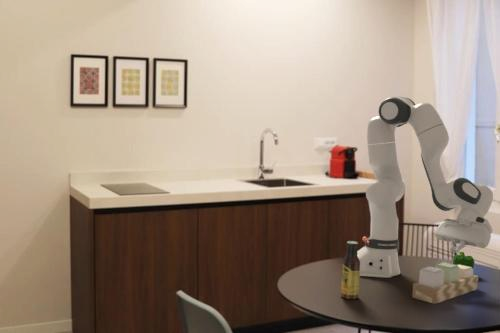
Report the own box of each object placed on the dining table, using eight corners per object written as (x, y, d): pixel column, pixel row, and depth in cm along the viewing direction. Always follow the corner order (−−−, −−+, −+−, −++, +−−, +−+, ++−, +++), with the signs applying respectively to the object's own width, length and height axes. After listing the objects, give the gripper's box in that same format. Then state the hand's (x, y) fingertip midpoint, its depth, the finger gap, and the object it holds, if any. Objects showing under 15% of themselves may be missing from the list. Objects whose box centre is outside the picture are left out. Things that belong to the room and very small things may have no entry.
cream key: (457, 282, 235) (458, 264, 234) (472, 285, 230) (473, 267, 229) (449, 284, 231) (450, 266, 230) (463, 288, 226) (464, 269, 225)
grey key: (428, 285, 221) (429, 266, 220) (443, 289, 217) (444, 269, 216) (418, 288, 217) (419, 268, 217) (433, 292, 213) (434, 272, 212)
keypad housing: (455, 283, 237) (456, 271, 236) (477, 289, 230) (478, 276, 230) (412, 297, 218) (413, 283, 217) (434, 304, 211) (435, 289, 210)
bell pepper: (464, 271, 255) (465, 248, 254) (477, 277, 247) (479, 252, 246) (447, 273, 252) (448, 249, 251) (460, 278, 244) (461, 253, 243)
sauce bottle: (338, 294, 219) (340, 239, 218) (356, 294, 220) (358, 239, 218) (343, 300, 213) (345, 243, 211) (360, 300, 213) (363, 243, 212)
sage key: (443, 280, 228) (444, 261, 227) (458, 284, 223) (459, 265, 223) (434, 283, 224) (435, 264, 223) (449, 287, 219) (450, 267, 219)
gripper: (440, 213, 236) (425, 241, 231) (491, 220, 221) (476, 251, 216) (446, 223, 240) (431, 251, 234) (496, 231, 225) (482, 261, 219)
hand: (453, 251), depth 225 cm, fingers closed
